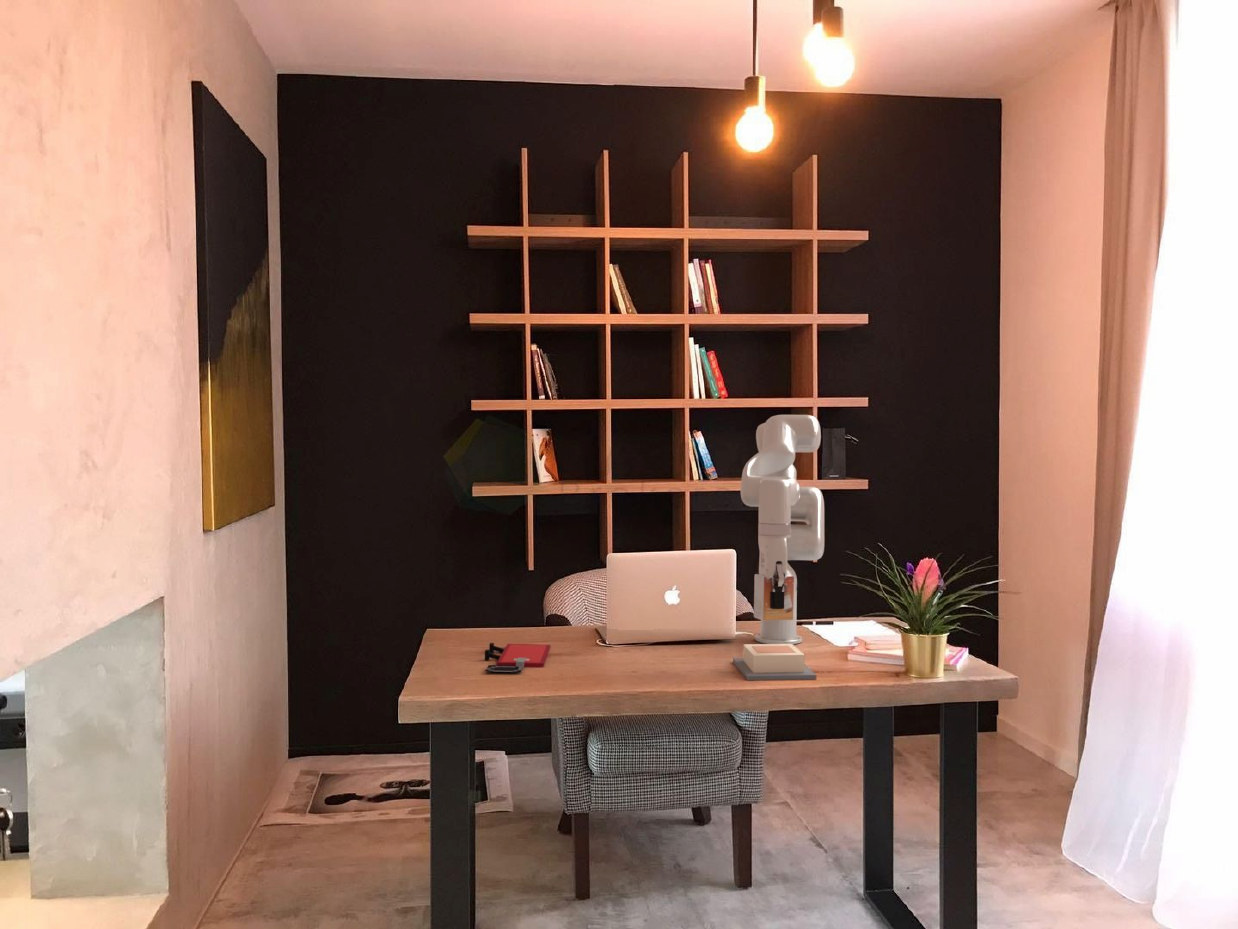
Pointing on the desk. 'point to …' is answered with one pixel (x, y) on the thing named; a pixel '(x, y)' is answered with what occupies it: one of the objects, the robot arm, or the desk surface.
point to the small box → (763, 599)
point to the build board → (772, 675)
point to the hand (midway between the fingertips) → (773, 605)
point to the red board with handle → (517, 657)
